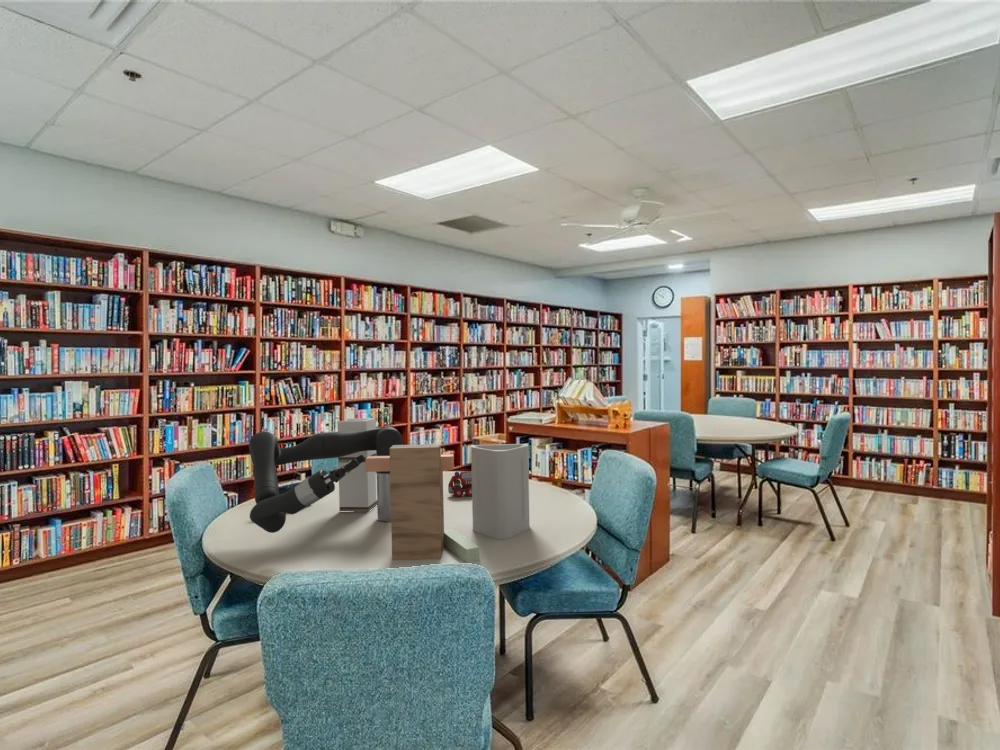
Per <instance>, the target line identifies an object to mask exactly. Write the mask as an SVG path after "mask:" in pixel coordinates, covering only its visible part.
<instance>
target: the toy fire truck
mask: <svg viewBox="0 0 1000 750" xmlns="http://www.w3.org/2000/svg"><path fill="white" fill-rule="evenodd" d="M447 486H448V489H447V491H448V493H449V494H450V495H452V494H453V495H454V497H456V498H462V496H464V493H465V495H467V497H470V496H471V497H472V470H467V471H461V472H460V473H459V471H455V472H454V475H451V478H450V480H449V483H448V485H447Z"/></svg>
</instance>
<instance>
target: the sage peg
mask: <svg viewBox="0 0 1000 750" xmlns="http://www.w3.org/2000/svg"><path fill="white" fill-rule="evenodd" d="M444 547H446V548H448V549H449V550H450V551H451V552H453V553H454V554H455V555H457V556H458V557H459V558H460V559H461V560H463V561H464V562H465V563H472V562H477V561H481V559H480V558H481V556H480V554H481V553H480V551H481V549H480V546H479V545H477V544H476V543H474V542H473V541H472V540H470V539H469V538H467V537H465V536H464V535H463V534H461V533H460V532H459V531H457V530H455V528H449V529H444Z"/></svg>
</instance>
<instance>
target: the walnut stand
mask: <svg viewBox="0 0 1000 750" xmlns="http://www.w3.org/2000/svg"><path fill="white" fill-rule="evenodd" d="M441 446H442V445H441V443H434V444H429V443H426V444H425V443H424V444H403V445H393V446H392V447H390V490H391V521H390V523H391V524H390V526H391V528H390V531H391V532H390V533H391V560H393V561H394V560H395V561H399V560H402V561H403V560H404V561H405V560H431V559H432V560H435V559H437V560H438V559H442V556H443V552H444V548H445V545H444V530H445V518H444V516H445V512H444V510H445V509H444V470H441V455H442V453H441V449H442V448H441Z"/></svg>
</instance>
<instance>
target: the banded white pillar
mask: <svg viewBox="0 0 1000 750" xmlns="http://www.w3.org/2000/svg"><path fill="white" fill-rule="evenodd" d="M376 420H377V419H376V418H371V417H370V418H369V417H368V418H366V417H364V418H358V417H357V418H356V417H354V418H346V420H337V422H336V423H337V432H346V431H354V432H359V431H368V430H374V429H377V428H376V427H377V426H376V424H377V423H376V422H377V421H376ZM360 455H363V456H364V457H365V461H364V462H362V463H360V464H359V466H358V467H356V468H355V469H353V470H351V471H350V473H348V474H347V475H345V477H343V478H342V479H341V480H340V481H338V493H339V494H338V496H339V497H338V501H339V502H338V506H339V512H340V511H354V512H353V513H367V512H368V513H370V512H371V511H372V510H373V509H375V508H376V507H377V506H376V505H377V472H366V458H367V457H368V456H377V453H376V450H372V451H361V452H357V453H353V454H350V455H346V456H342V457H337V460H338V461H337V462H338V466H337V467H339V466H340V465H342V464H343V463H347V462H349V461H350V460H353V459H355V458H357V457H358V456H360ZM375 506H376V507H375ZM374 507H375V508H374ZM372 508H373V509H372ZM371 509H372V510H371ZM370 510H371V511H370ZM369 511H370V512H369Z"/></svg>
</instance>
